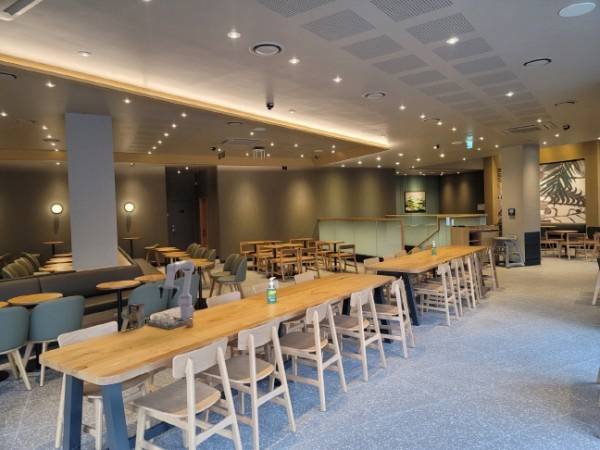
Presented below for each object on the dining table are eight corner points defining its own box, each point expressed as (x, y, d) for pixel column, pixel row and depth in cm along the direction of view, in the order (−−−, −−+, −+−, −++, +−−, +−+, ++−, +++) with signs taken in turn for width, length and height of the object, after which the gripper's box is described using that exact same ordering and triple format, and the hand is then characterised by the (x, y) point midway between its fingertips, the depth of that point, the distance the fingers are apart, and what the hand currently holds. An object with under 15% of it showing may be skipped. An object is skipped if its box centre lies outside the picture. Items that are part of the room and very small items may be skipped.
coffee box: (128, 327, 298) (127, 304, 298) (134, 324, 305) (134, 302, 304) (139, 327, 296) (138, 305, 295) (145, 325, 302) (144, 303, 301)
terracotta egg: (190, 325, 300) (190, 317, 300) (194, 325, 298) (194, 317, 297) (185, 326, 296) (185, 318, 296) (189, 327, 294) (189, 319, 294)
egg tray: (167, 318, 319) (167, 309, 319) (190, 323, 305) (189, 314, 304) (147, 324, 305) (146, 315, 304) (169, 329, 290) (169, 319, 290)
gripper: (158, 277, 293) (154, 296, 287) (179, 279, 294) (175, 298, 288) (160, 280, 299) (156, 298, 294) (180, 282, 300) (177, 300, 295)
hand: (166, 298), depth 291 cm, fingers open, 7 cm apart
